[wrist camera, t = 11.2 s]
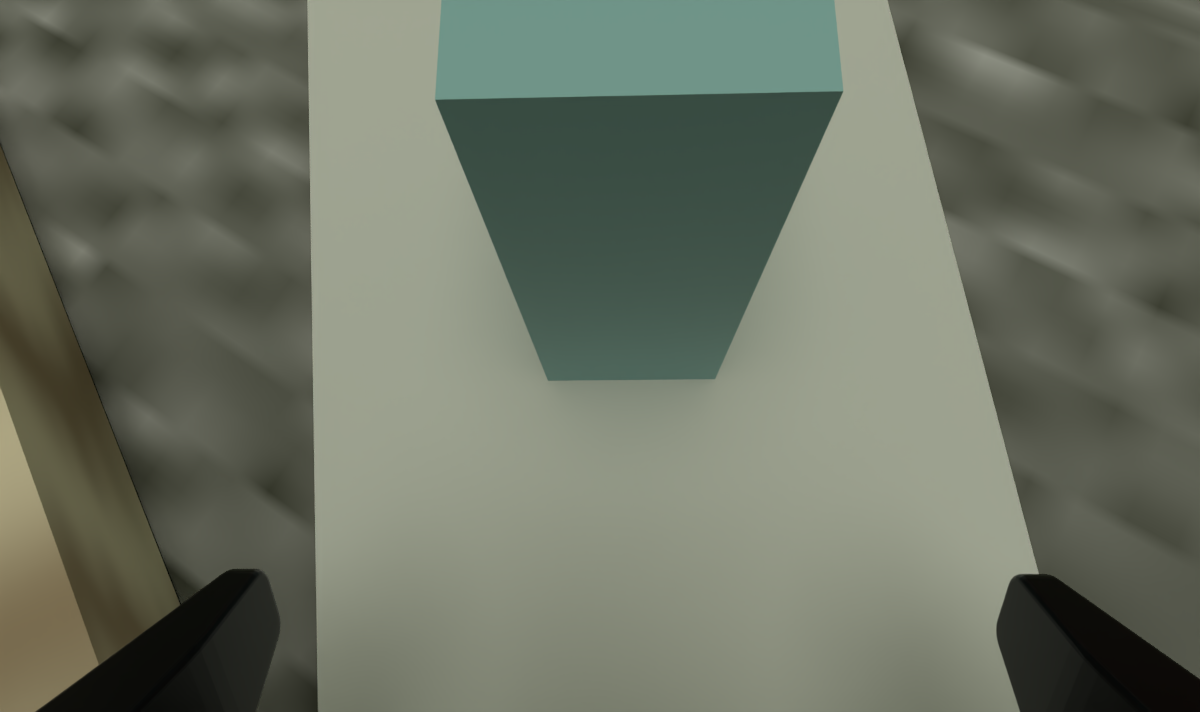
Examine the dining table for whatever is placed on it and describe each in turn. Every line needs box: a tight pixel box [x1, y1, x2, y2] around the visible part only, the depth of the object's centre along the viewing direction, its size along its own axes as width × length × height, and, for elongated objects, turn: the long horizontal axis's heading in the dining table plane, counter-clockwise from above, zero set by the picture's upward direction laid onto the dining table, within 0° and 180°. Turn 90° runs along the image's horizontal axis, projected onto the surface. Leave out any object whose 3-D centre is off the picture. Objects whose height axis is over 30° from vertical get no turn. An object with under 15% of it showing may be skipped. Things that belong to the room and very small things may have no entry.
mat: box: [307, 0, 1039, 712], centre depth 17 cm, size 20×14×1 cm
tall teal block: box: [435, 0, 843, 381], centre depth 12 cm, size 5×4×10 cm
